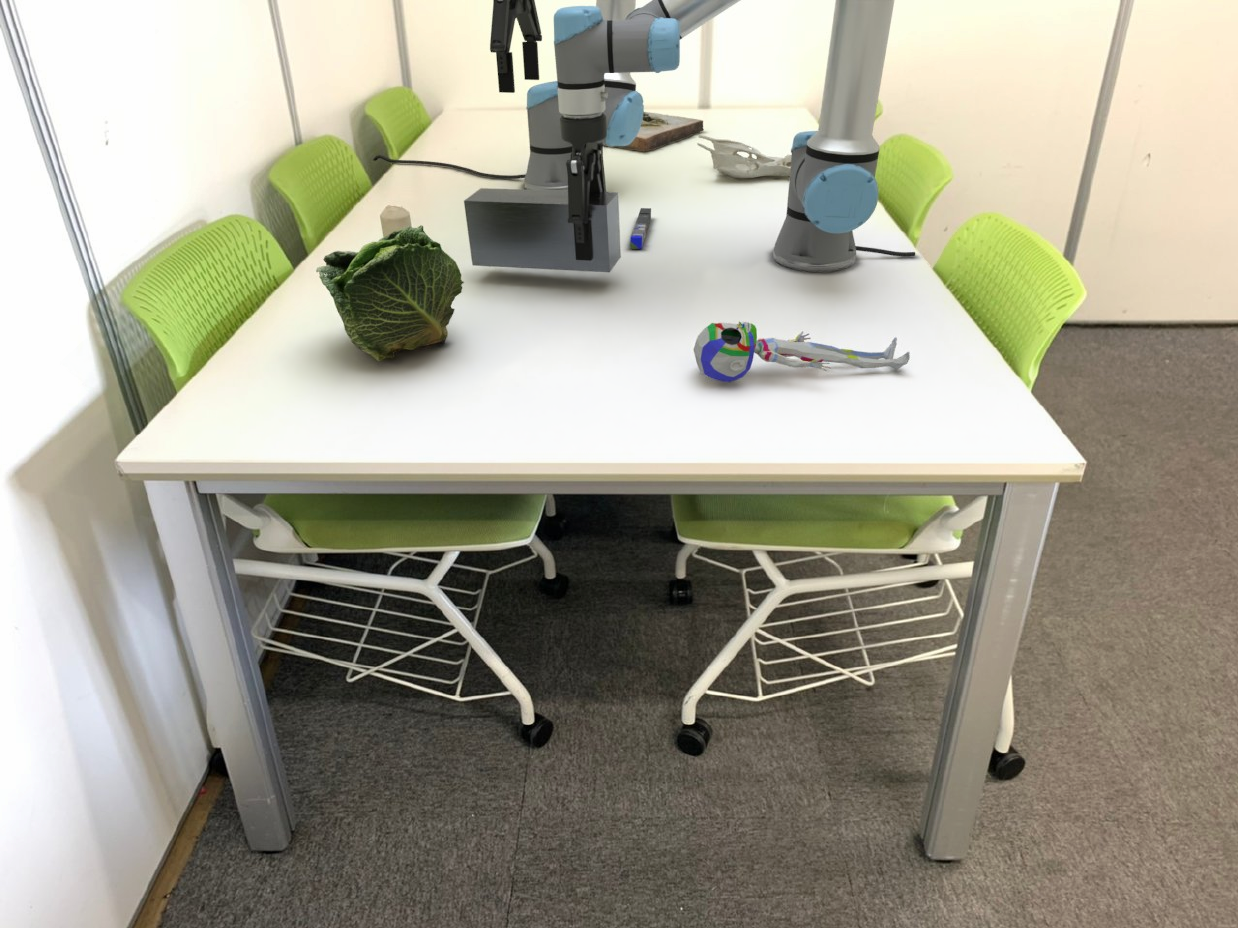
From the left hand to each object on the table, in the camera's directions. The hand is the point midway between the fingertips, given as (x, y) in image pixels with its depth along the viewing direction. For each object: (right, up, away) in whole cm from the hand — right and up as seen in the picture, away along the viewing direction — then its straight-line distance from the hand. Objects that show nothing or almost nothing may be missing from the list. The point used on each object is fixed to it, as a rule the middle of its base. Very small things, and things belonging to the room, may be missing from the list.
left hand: (519, 86), depth 165 cm
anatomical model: (+50, +1, +55) cm, 74 cm away
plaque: (+23, +25, +94) cm, 100 cm away
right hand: (+13, -32, -8) cm, 36 cm away
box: (+5, -34, -5) cm, 34 cm away
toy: (+44, -57, -36) cm, 80 cm away
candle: (-24, -30, +8) cm, 39 cm away
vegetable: (-15, -52, -26) cm, 60 cm away
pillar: (+23, -23, +19) cm, 37 cm away
